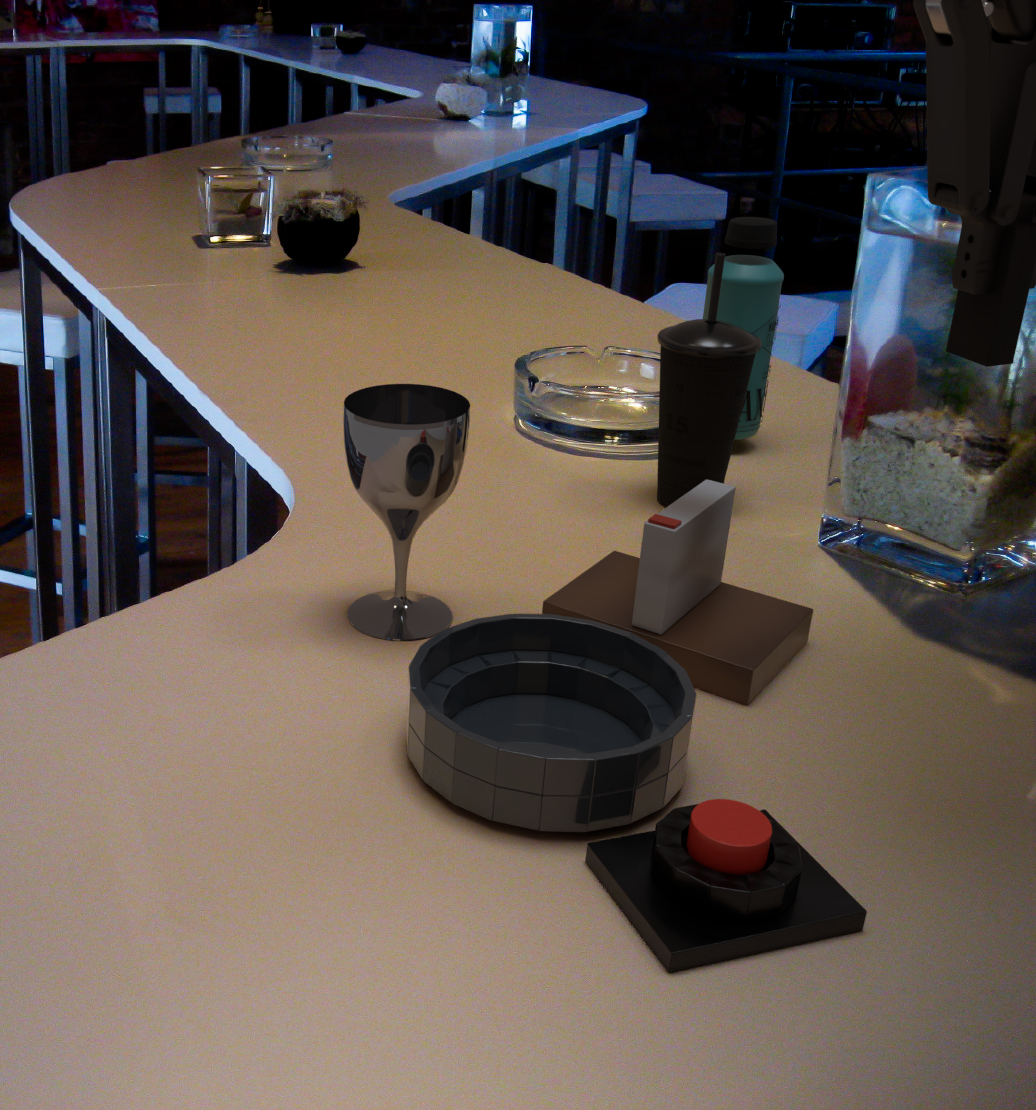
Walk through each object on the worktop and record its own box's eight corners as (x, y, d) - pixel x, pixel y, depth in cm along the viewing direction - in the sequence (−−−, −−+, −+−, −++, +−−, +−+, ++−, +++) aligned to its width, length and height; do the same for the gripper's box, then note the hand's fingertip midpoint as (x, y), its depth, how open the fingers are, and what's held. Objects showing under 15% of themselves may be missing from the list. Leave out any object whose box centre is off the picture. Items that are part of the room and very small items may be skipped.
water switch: (761, 828, 67) (770, 779, 65) (863, 931, 60) (875, 879, 58) (584, 862, 64) (590, 812, 63) (668, 974, 57) (677, 921, 56)
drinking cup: (659, 476, 110) (689, 238, 101) (749, 496, 106) (788, 251, 97) (623, 505, 104) (651, 256, 96) (717, 528, 100) (755, 270, 92)
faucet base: (807, 642, 84) (814, 608, 83) (747, 706, 77) (753, 670, 76) (610, 581, 92) (614, 549, 91) (539, 634, 85) (542, 600, 84)
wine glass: (394, 577, 93) (400, 375, 86) (482, 614, 88) (496, 403, 81) (316, 614, 88) (316, 403, 81) (405, 656, 83) (413, 434, 76)
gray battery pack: (692, 575, 87) (706, 475, 84) (721, 584, 86) (736, 482, 83) (631, 625, 81) (644, 519, 78) (661, 635, 80) (675, 527, 77)
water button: (738, 822, 63) (743, 793, 62) (782, 869, 60) (788, 838, 59) (671, 835, 62) (676, 805, 61) (713, 883, 59) (718, 852, 58)
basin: (601, 670, 81) (609, 599, 79) (739, 813, 68) (753, 732, 66) (370, 706, 77) (371, 632, 75) (468, 864, 64) (473, 780, 62)
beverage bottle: (687, 454, 115) (718, 225, 106) (679, 429, 121) (708, 210, 112) (764, 458, 114) (801, 227, 105) (752, 432, 120) (787, 212, 111)
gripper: (1040, -220, 48) (919, 395, 58) (1311, -217, 51) (1152, 365, 61) (899, -200, 54) (813, 350, 64) (1147, -198, 57) (1028, 325, 67)
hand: (978, 356), depth 63 cm, fingers closed
